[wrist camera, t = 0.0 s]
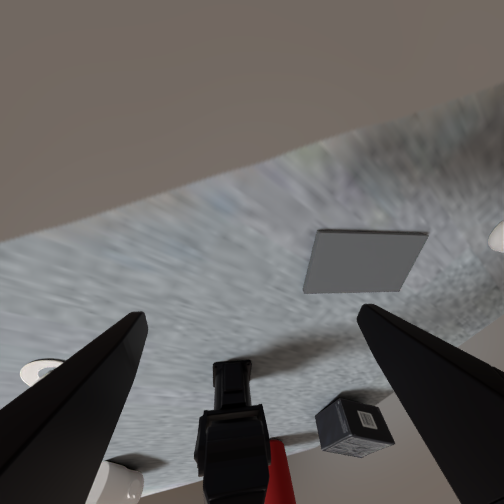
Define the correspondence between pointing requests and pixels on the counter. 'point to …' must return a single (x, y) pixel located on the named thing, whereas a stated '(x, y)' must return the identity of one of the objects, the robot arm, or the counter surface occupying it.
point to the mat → (361, 261)
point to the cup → (497, 238)
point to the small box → (352, 429)
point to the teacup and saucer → (36, 370)
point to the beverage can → (279, 476)
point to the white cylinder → (116, 485)
